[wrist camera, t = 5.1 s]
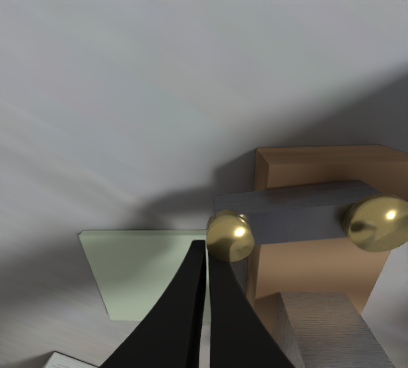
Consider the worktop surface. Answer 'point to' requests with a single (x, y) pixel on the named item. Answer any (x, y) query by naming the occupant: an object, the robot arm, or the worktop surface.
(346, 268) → the plane body
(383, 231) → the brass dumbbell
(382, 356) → the grey block
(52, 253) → the worktop surface
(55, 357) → the supplement box
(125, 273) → the felt pad
